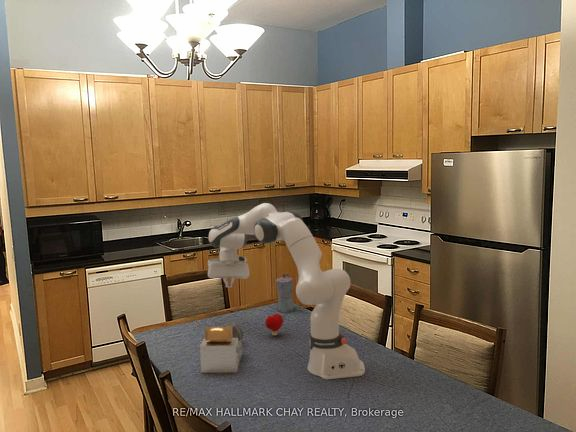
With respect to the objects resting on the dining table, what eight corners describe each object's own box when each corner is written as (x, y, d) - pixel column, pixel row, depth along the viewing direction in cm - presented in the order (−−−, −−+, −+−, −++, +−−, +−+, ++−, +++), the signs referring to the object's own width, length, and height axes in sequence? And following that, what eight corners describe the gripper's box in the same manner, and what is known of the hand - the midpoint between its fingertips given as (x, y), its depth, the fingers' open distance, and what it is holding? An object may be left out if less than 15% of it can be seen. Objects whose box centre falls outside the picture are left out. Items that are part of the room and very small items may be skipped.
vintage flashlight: (230, 337, 227) (229, 317, 224) (244, 342, 223) (243, 321, 220) (213, 349, 217) (212, 328, 214) (227, 354, 213) (226, 333, 210)
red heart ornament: (271, 340, 223) (271, 319, 221) (262, 336, 228) (261, 315, 227) (287, 335, 229) (286, 314, 227) (277, 331, 234) (276, 311, 233)
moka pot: (274, 314, 258) (273, 277, 255) (279, 304, 273) (278, 270, 270) (292, 314, 256) (291, 277, 254) (296, 305, 272) (295, 270, 269)
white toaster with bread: (242, 354, 209) (240, 315, 207) (237, 372, 192) (235, 330, 190) (208, 354, 209) (206, 316, 207) (200, 372, 193) (198, 331, 190)
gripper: (208, 256, 234) (209, 285, 229) (249, 258, 241) (250, 285, 236) (206, 260, 240) (206, 288, 235) (246, 261, 247) (247, 288, 242)
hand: (229, 287), depth 236 cm, fingers closed
